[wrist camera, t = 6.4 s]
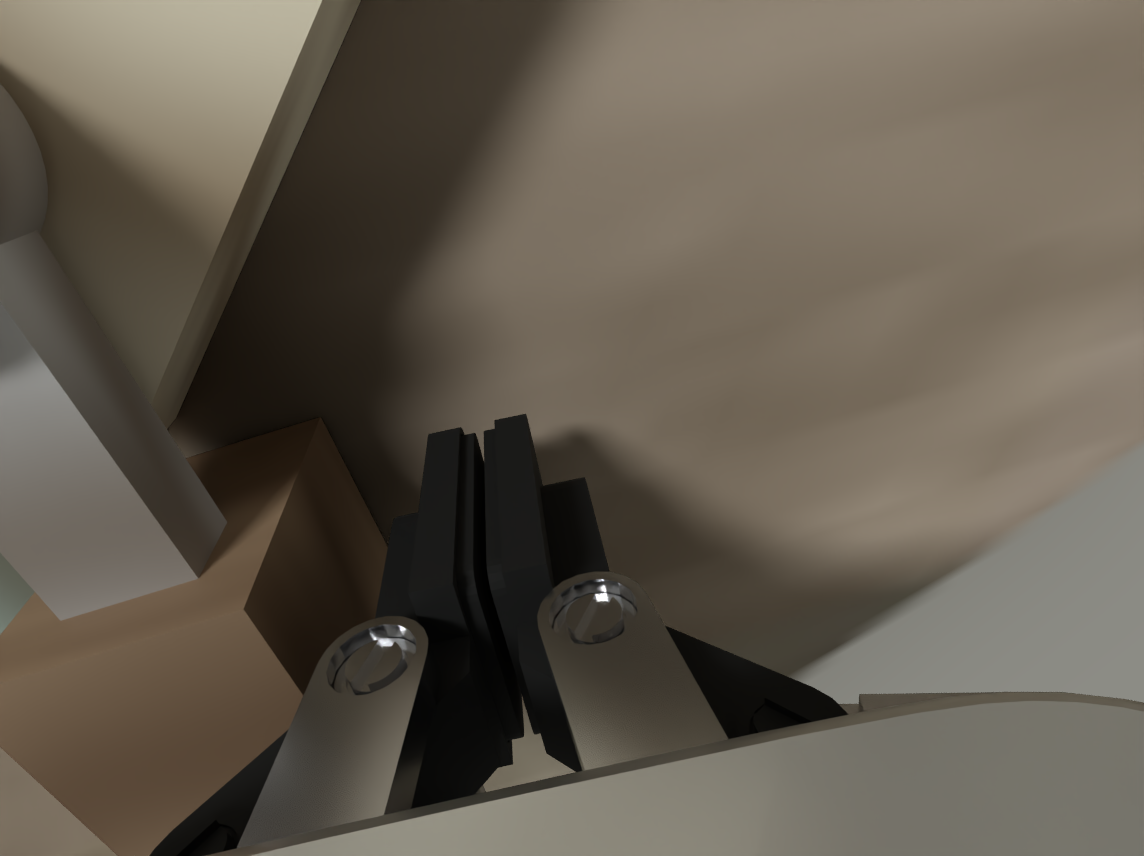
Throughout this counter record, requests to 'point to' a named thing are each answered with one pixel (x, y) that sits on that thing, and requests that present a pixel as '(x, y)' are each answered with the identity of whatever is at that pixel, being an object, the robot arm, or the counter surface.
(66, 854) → the counter surface
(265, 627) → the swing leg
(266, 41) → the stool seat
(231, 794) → the robot arm
